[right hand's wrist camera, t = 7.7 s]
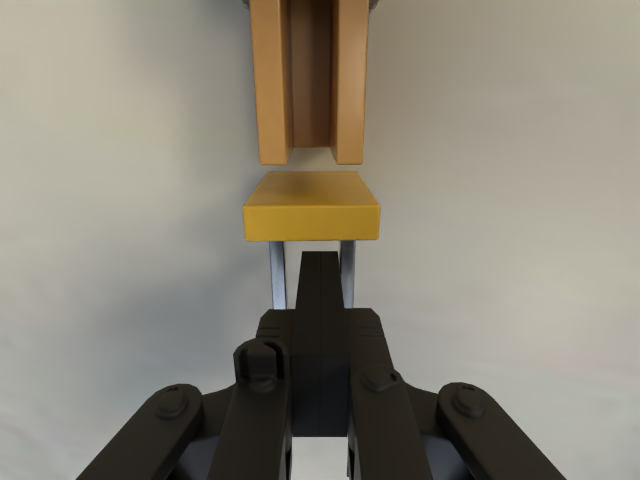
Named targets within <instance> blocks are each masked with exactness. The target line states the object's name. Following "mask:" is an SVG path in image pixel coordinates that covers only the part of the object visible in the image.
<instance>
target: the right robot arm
mask: <svg viewBox="0 0 640 480" xmlns="http://www.w3.org/2000/svg"><path fill="white" fill-rule="evenodd" d="M233 357H234V366H235V376H236V383H235V384H233V385H232V386H230V387H228V388H226V389H223V390H220V391H217V392H213V393H209V394H205V395H202V394H201V392H200V391H199V390H198V388H197V387H195V386H192V385H190V384H175V385H171V386H167V387H165V388H163V389H161V390H159V391H157V392H156V393H154V394H153V395H152V396H151V397H150V398H149V399H147V400H146V402H145V403H144V404H143V405H142V406H141V407H140V408H139V409H138V411H137V412H136V413H135V414H134V415H133V416H132V417H131V418H130V419H129V421H128V422H127V423H126V424H125V425H124V426H123V427H122V428H121V429H120V431H119V432H118V433H117V434H116V435H115V436H114V437H113V438H112V440H111V441H110V442H109V443H108V444H107V445H106V446H105V447H104V448H103V450H102V451H101V452H100V453H99V454H98V455H97V456H96V457H95V458H94V460H93V461H92V462H91V463H90V464H89V465H88V466H87V467H86V469H85V470H84V471H83V472H82V473H81V474H80V475H79V476H78V477H77V479H76V480H291V467H292V433H293V437H347V432H348V462H347V477H349V479H350V480H566V478H565V477H564V476H563V475H562V474H561V473H560V472H559V471H558V470H557V469H556V467H555V466H554V465H553V464H552V463H551V462H550V461H549V460H548V459H547V457H546V456H545V455H544V454H543V453H542V452H541V451H540V450H539V449H538V447H537V446H536V445H535V444H534V443H533V442H532V441H531V440H530V439H529V437H528V436H527V435H526V434H525V433H524V432H523V431H522V430H521V429H520V427H519V426H518V425H517V424H516V423H515V422H514V421H513V420H512V419H511V418H510V416H509V415H508V414H507V413H506V412H505V411H504V410H503V409H502V408H501V406H500V405H499V404H498V403H497V402H496V401H495V400H494V399H493V398H492V397H491V396H490V395H489V394H488V393H486V392H485V391H484V390H482V389H480V388H478V387H476V386H474V385H471V384H467V383H463V382H455V383H449V384H447V385H444V386H443V387H442V388H441V390H440V391H439V394H436V393H432V392H429V391H425V390H421V389H418V388H415V387H413V386H411V385H409V384H407V383H406V382H404V380H403V378H402V377H401V375H400V373H398V372H397V371H396V370H395V369H394V367H393V364H392V360H391V356H390V353H389V349H388V346H387V342H386V339H385V337H384V332H383V328H382V325H381V321H380V317H379V316H378V315H377V314H376V313H375V312H374V311H373V310H372V309H371V308H345V307H344V299H343V291H342V283H341V274H340V266H339V258H338V251H302V258H301V266H300V274H299V283H298V291H297V299H296V307H295V309H269V310H268V311H267V312H266V313H265V314H264V315H263V316H262V317H261V319H260V322H259V326H258V330H257V333H256V338H254V339H252V340H249V341H246V342H244V343H243V344H242V345H240V346H239V347H238V348H237V349H236V351H235V352H234V354H233Z"/></svg>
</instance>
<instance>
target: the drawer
mask: <svg viewBox="0 0 640 480" xmlns="http://www.w3.org/2000/svg"><path fill="white" fill-rule="evenodd" d="M249 5H250V21H251V37H252V53H253V68H254V84H255V100H256V116H257V132H258V148H259V163H260V165H285V164H286V163H287V161H288V159H289V157H290V155H291V152H292V150H293V148H294V147H330V150H331V152H332V154H333V157H334V159H335V161H336V164H338V165H361V164H362V163H363V141H364V116H365V91H366V66H367V41H368V17H369V0H249ZM380 208H381V207H380V204H379V203H378V202H377V200H376V199H375V197H374V196H373V194H372V193H371V192H370V190H369V189H368V187H367V186H366V184H365V183H364V182H363V180H362V179H361V177H360V176H359V174H358V173H357V172H356V171H296V172H267V173H266V175H265V176H264V178H263V179H262V180H261V182H260V183H259V184H258V186H257V187H256V189H255V190H254V191H253V193H252V194H251V196H250V197H249V198H248V200H247V201H246V202H245V204H244V205H243V207H242V210H243V222H244V234H245V240H246V241H269V250H270V267H271V284H272V301H273V309H288V294H287V269H286V244H285V241H333V240H340V241H339V266H340V274H341V283H342V291H343V299H344V307H345V308H353V300H354V272H355V244H356V240H378V238H379V224H380Z"/></svg>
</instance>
